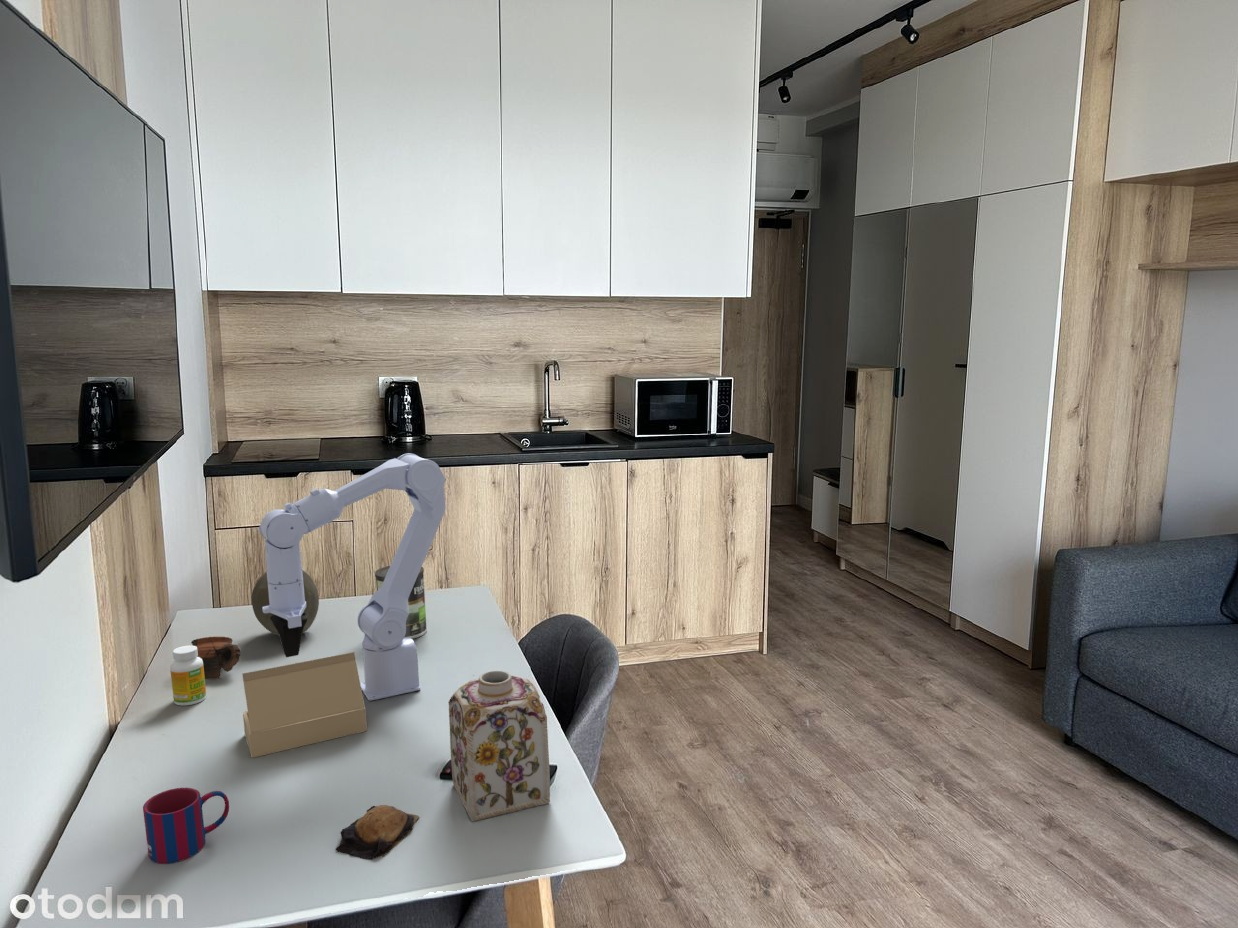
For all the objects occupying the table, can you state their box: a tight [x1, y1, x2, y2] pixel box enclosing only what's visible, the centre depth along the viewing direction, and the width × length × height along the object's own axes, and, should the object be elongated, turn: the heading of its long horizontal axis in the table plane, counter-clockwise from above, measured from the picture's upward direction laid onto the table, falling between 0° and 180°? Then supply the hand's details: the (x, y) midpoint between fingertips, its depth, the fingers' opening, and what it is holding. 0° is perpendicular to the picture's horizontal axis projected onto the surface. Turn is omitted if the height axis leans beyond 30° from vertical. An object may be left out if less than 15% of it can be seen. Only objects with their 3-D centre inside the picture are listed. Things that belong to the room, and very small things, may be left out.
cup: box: [142, 787, 230, 865], centre depth 117 cm, size 7×10×7 cm
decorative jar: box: [448, 670, 551, 822], centre depth 128 cm, size 12×12×18 cm
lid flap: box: [242, 651, 366, 733], centre depth 146 cm, size 18×10×1 cm
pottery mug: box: [190, 636, 242, 680], centre depth 175 cm, size 12×10×8 cm
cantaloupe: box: [251, 569, 320, 636], centre depth 194 cm, size 14×14×15 cm
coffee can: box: [374, 565, 428, 640], centre depth 194 cm, size 10×10×14 cm
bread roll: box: [334, 804, 420, 860], centre depth 119 cm, size 11×8×4 cm
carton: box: [242, 707, 368, 759], centre depth 149 cm, size 18×9×4 cm, turn 119°
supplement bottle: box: [169, 644, 207, 707], centre depth 162 cm, size 5×5×10 cm
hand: (291, 654), depth 155 cm, fingers closed
